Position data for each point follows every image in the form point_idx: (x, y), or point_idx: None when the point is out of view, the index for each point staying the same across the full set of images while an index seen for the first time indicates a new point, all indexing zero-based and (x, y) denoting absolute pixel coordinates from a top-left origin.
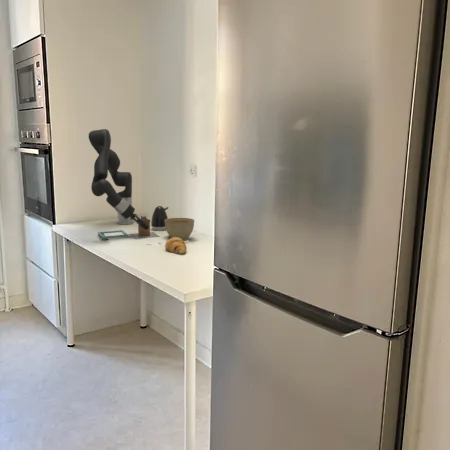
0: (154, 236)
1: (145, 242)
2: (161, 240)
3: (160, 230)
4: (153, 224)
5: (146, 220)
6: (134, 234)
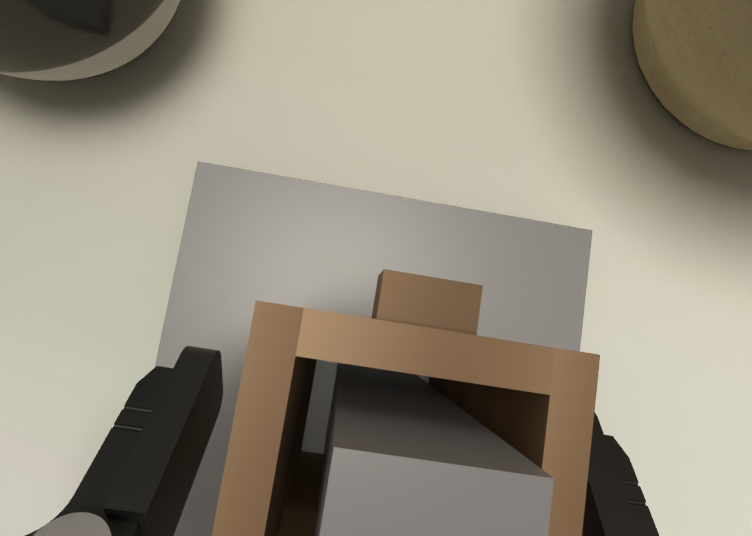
0: (538, 296)
1: (685, 515)
2: (676, 265)
3: (173, 15)
4: (26, 42)
5: (582, 471)
6: (210, 524)
